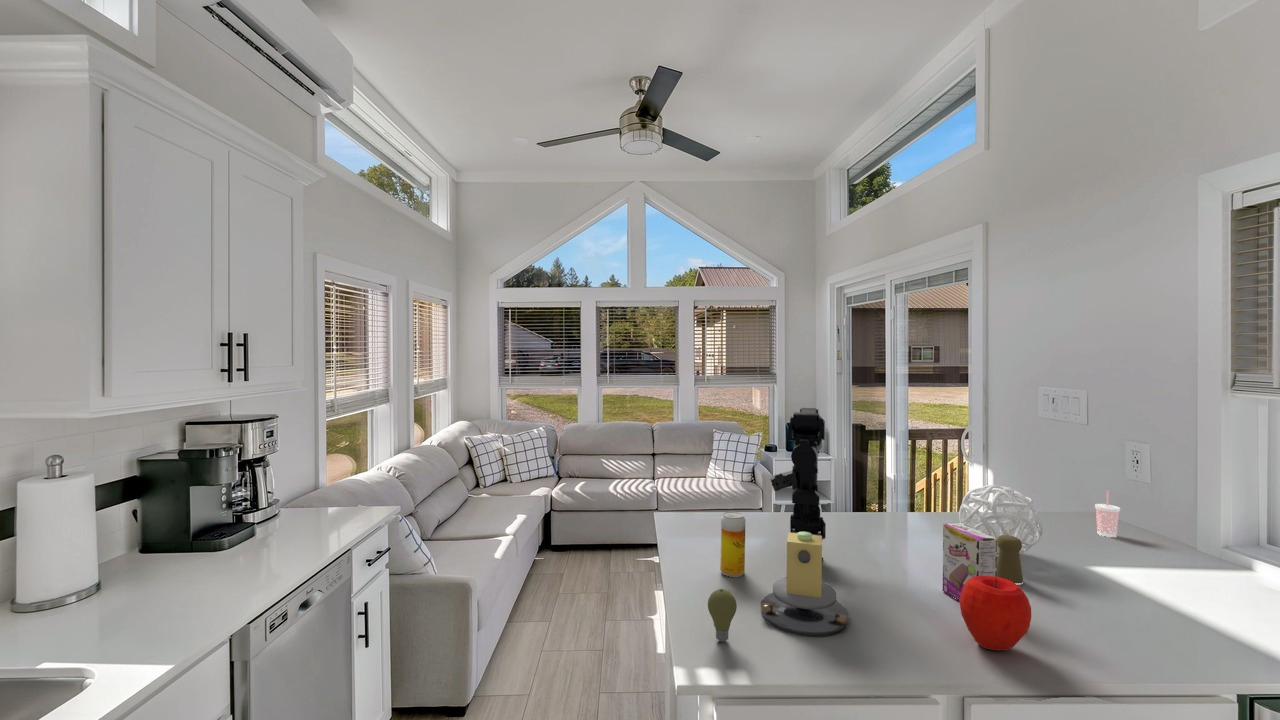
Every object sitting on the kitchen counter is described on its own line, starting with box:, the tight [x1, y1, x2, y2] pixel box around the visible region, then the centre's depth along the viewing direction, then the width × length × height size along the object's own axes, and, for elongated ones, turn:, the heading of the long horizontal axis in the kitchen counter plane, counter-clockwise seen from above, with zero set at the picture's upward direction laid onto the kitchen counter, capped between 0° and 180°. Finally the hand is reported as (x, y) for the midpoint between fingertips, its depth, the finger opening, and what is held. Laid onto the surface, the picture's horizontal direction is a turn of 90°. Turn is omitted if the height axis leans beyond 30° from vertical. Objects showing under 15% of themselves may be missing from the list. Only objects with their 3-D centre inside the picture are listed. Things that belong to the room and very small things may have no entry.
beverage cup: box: [1094, 489, 1121, 538], centre depth 173 cm, size 6×6×14 cm
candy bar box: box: [942, 522, 998, 602], centre depth 126 cm, size 11×5×16 cm, turn 9°
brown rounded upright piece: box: [996, 535, 1024, 583], centre depth 138 cm, size 6×6×11 cm
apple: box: [958, 576, 1032, 651], centre depth 107 cm, size 12×12×13 cm
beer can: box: [719, 511, 746, 578], centre depth 142 cm, size 6×6×15 cm
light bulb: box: [707, 588, 738, 643], centre depth 109 cm, size 6×6×10 cm
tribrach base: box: [760, 592, 850, 638], centre depth 120 cm, size 19×18×4 cm
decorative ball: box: [958, 484, 1044, 557], centre depth 155 cm, size 20×20×19 cm
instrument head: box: [772, 531, 837, 610], centre depth 119 cm, size 13×13×13 cm
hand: (804, 525), depth 140 cm, fingers closed
